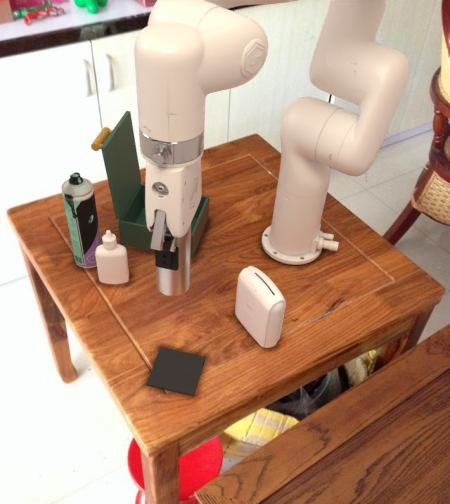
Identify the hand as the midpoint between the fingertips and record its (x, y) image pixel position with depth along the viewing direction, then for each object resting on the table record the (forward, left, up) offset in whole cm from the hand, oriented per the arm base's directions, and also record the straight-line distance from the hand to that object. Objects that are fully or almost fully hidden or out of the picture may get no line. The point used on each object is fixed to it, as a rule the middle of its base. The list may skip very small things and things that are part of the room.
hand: (173, 252), depth 79 cm
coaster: (-1, +3, -23) cm, 24 cm away
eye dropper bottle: (+16, -14, -24) cm, 32 cm away
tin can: (0, 0, -6) cm, 6 cm away
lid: (+18, -30, -9) cm, 36 cm away
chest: (+11, -30, -23) cm, 39 cm away
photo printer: (-12, -9, -24) cm, 28 cm away
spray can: (+23, -18, -24) cm, 37 cm away
